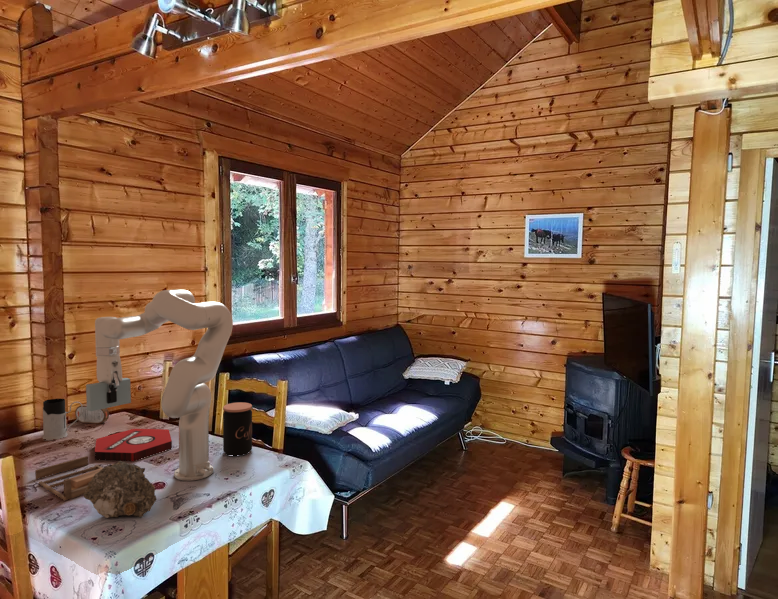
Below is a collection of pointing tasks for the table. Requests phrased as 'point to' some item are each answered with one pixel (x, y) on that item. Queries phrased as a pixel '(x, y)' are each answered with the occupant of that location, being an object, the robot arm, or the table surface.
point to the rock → (121, 491)
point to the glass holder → (55, 419)
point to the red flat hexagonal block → (132, 444)
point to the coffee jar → (237, 428)
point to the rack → (67, 482)
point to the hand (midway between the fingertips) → (109, 401)
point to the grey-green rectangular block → (98, 395)
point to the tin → (91, 415)
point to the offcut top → (83, 479)
